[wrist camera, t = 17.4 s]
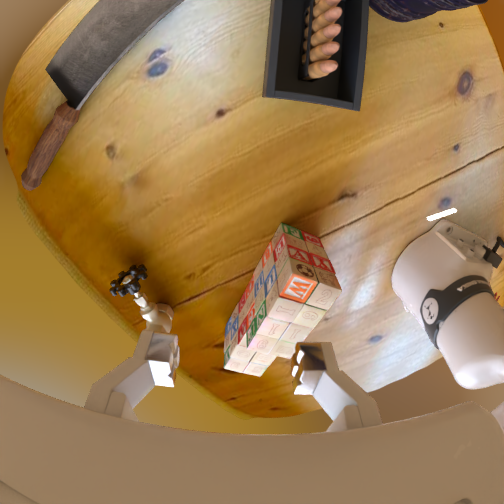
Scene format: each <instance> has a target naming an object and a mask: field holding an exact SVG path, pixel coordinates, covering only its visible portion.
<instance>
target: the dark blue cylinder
mask: <svg viewBox="0 0 504 504" xmlns="http://www.w3.org/2000/svg"><path fill="white" fill-rule="evenodd" d="M487 1H488V0H369V6H370V7H371V8H372V9H373V10H374V11H376V12H377V13H378V14H380V15H381V16H383V17H385V18H387V19H390V20H392V21H396V22H408V21H412V20H417V19H421V18H425V17H427V16H429V15H432V14H434V13H436V12H437V11H441V10H450V11H451V10H456V9H462V8H467V7H469V6H473V5H478V4H483V3H486V2H487Z"/></svg>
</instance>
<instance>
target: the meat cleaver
mask: <svg viewBox="0 0 504 504" xmlns="http://www.w3.org/2000/svg"><path fill="white" fill-rule="evenodd" d="M183 1H184V0H100V1H99V2H98V3H97V4H96V5H95V6H94V7H93V8H92V9H91V10H90V11H89V13H88V14H87V15H86V16H85V17H84V18H83V19H82V21H81V22H80V23H79V24H78V25H77V27H76V28H75V29H74V30H73V32H72V33H71V34H70V35H69V37H68V38H67V39H66V41H65V42H64V43H63V45H62V46H61V47H60V49H59V50H58V51H57V53H56V54H55V56H54V57H53V59H52V60H51V61H50V63H49V64H48V66H47V67H46V69H45V70H46V71H47V72H48V74H49V75H50V77H51V78H52V79H53V81H54V82H55V83H56V85H57V86H58V88H59V89H60V90H61V92H62V93H63V94H64V96H65V97H66V98H67V101H66V102H64V103H63V104H61V105H60V106H58V107H57V109H56V111H55V114H54V117H53V119H52V120H51V122H50V123H49V124H48V125H47V127H46V129H45V131H44V132H43V134H42V136H41V138H40V140H39V142H38V143H37V145H36V147H35V149H34V151H33V153H32V155H31V157H30V159H29V162H28V167H27V169H26V170H25V171H24V172H23V173H22V175H21V176H22V185H23V187H24V188H25V189H27V190H33V189H35V188H36V187H38V186H39V185H40V184H41V178H42V175H43V174H44V173H45V172H46V170H47V169H48V167H49V165H50V163H51V162H52V160H53V158H54V156H55V155H56V153H57V151H58V149H59V148H60V146H61V144H62V143H63V141H64V140H65V138H66V136H67V133H68V131H69V129H70V128H71V127H72V126H73V125H74V124H75V123H76V122H77V121H78V118H79V113H80V108H81V106H82V105H83V104H84V102H85V101H86V100H87V98H88V97H89V96H90V94H91V93H92V92H93V91H94V89H95V88H96V87H97V86H98V84H99V83H100V82H101V81H102V80H103V78H104V77H105V76H106V75H107V74H108V72H109V71H110V70H111V69H112V68H113V67H114V66H115V64H116V63H117V62H118V61H119V60H120V59H121V58H122V57H123V56H124V55H125V54H126V53H127V51H128V50H129V49H130V48H131V47H132V46H133V45H134V44H135V43H136V42H137V41H138V40H139V39H140V38H141V37H142V36H143V35H144V34H146V33H147V32H148V31H149V30H150V29H151V28H152V27H153V26H154V25H155V24H156V23H157V22H159V21H160V20H161V19H162V18H163V17H164V16H165V15H167V14H168V13H169V12H170V11H171V10H173V9H174V8H175V7H176V6H178V5H179V4H180V3H181V2H183Z"/></svg>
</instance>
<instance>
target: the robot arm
mask: <svg viewBox="0 0 504 504" xmlns="http://www.w3.org/2000/svg"><path fill="white" fill-rule="evenodd" d="M455 212H457V210H456V209H455V208H453V209H450V210H447V211H444V212H441V213H438V214H435V215H432V216H429V217H427V219H428V220H429V221H432V220H435V219H437V218H440V217H443V216H446V215H449V214H452V213H455ZM499 245H501V246H502V247H503V248H504V242H503V240H502V239H501V238H500V237H497V242H496V244H495V246H494V247H493V249H492V250H491V249H490V248H488V243H487V242H486V240H485V239H483V238H481V237H479V236H477V235H476V234H474V233H472V232H470V231H468V230H466V229H464V228H462V227H460V226H458V225H456V224H454V223H452V222H450V221H448V220H446V219H442V220H440V221H439V222H438V223H437V224H436V225H435V226H434V227H433V228H432V229H431V230H430V231H429V232H427V233H426V234H424V235H422V236H420V237H418V238H417V239H415V240H414V241H413V242H412V243H411V244H410V245H408V246H407V248H406V249H405V250H404V251H403V252H402V254H401V255H400V257H399V258H398V260H397V262H396V264H395V266H394V269H393V273H392V287H393V290H394V292H395V293H396V295H397V296H398V297H399V298H400V299H401V300H402V302H403V306H404V308H405V310H406V311H407V312H411V313H412V314H413V316H414V317H415V318H416V320H417V321H418V322H419V324H420V325H421V326H422V328H423V329H424V330H425V331H426V332H427V334H428V336H429V339H430V341H431V342H432V343H433V344H434V346H435V347H436V348H437V349H439V350H440V351H441V353H442V355H443V357H444V359H445V361H446V363H447V364H448V366H449V368H450V370H451V372H452V374H453V376H454V378H455V380H456V382H457V383H458V384H459V385H461V386H462V387H464V388H467V389H480V388H485V387H488V386H492V385H494V384H498V383H504V309H503V308H502V307H501V306H500V304H499V303H498V302H497V301H498V299H499V297H500V296H498V298H497V299H496V296H497V292H496V293H495V295H494V293H493V291H492V289H491V286H490V280H491V277H492V272H493V267H495V268H497V267H498V266H499V264H500V263H501V261H502V258H501V257H500V256H499V255H498V254H497V253H496V251H497V249H498V247H499ZM495 299H496V300H495ZM177 343H178V336H177V334H171V333H164V332H157V331H150V330H143V331H142V332H141V335H140V337H139V340H138V343H137V346H136V349H135V352H134V355H133V358H132V357H129V358H128V359H126V360H125V361H124V362H122V363H121V364H120V365H118V366H117V367H116V368H114V369H113V370H112V371H110V372H109V373H108V374H106V375H105V376H104V377H102V378H101V379H100V380H98V381H97V382H95V383H94V384H93V385H92V388H91V390H90V393H89V395H88V398H87V401H86V404H85V406H84V408H83V407H80V406H76V405H73V404H70V403H67V402H64V401H61V400H59V399H56V398H53V397H51V396H48V395H45V394H43V393H40V392H38V391H35V390H33V389H30V388H28V387H26V386H23V385H21V384H19V383H17V382H15V381H12V380H10V379H8V378H6V377H4V376H2V375H0V504H504V402H503V403H502V404H500V405H499V406H498V407H497V408H495V409H494V410H493V411H491V412H489V411H487V410H486V409H484V408H483V407H481V406H480V405H478V404H477V403H475V402H472V401H468V402H465V403H462V404H459V405H456V406H453V407H450V408H447V409H444V410H440V411H437V412H433V413H430V414H426V415H422V416H418V417H414V418H410V419H406V420H401V421H396V422H392V423H386V424H383V422H382V419H381V416H380V412H379V409H378V405H377V402H376V401H375V400H374V399H373V398H372V397H371V396H370V395H368V393H366V392H365V391H364V390H363V389H362V388H361V387H360V386H359V385H358V384H356V383H355V382H354V381H353V380H352V379H351V378H350V377H349V376H348V375H347V374H345V373H344V372H343V371H339V368H338V364H337V361H336V357H335V353H334V350H333V346H332V343H331V342H297V343H296V346H295V353H294V354H293V355H292V359H291V374H292V375H293V376H294V379H293V390H294V394H313V396H314V398H315V399H316V400H317V401H318V403H319V404H320V405H321V406H322V408H323V409H324V410H325V411H326V412H327V414H328V415H329V416H330V417H331V419H332V420H333V421H334V422H333V423H332V424H331V425H330V427H329V428H328V429H327V431H326V432H320V433H305V434H280V435H257V434H256V435H255V434H254V435H253V434H230V433H215V432H204V431H194V430H186V429H179V428H172V427H165V426H159V425H153V424H148V423H143V422H139V421H138V419H137V417H136V415H135V413H134V411H133V408H134V407H135V406H136V405H137V404H138V403H139V402H140V401H141V400H142V399H143V398H144V397H145V396H146V395H147V394H148V393H149V392H150V390H151V389H152V388H153V387H154V386H155V385H161V386H169V387H174V383H175V379H176V370H175V369H176V368H177V367H178V363H179V346H178V345H177Z"/></svg>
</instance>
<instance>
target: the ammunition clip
mask: <svg viewBox="0 0 504 504" xmlns="http://www.w3.org/2000/svg"><path fill="white" fill-rule="evenodd" d="M340 1H341V0H306V2H305V3H304V11H303V23H302V35H301V47H300V58H299V68H298V80H301V81H307V82H314V81H317V80H320V79H323V78H324V76H326V75H328V74H329V73H331V72H333V71H334V70H336V69H337V67H338V63H337V62H336V61H334V60H327V59H329V58H330V57H331V55H333V54H334V53H336V52H337V51H338V50H339V47H340V45H339V43H337V42H331V41H332V40H333V38H334V37H335V36H337V35H338V34H339V32H340V30H341V26H340V25H339V24H334V23H335V21H336V20H337V19H338V18H339V17H340V16H341V14H342V8H341V7H336V6H337V5H338V3H339V2H340Z"/></svg>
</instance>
